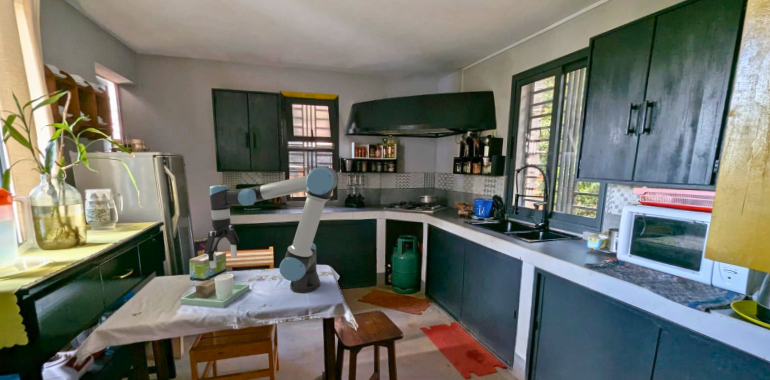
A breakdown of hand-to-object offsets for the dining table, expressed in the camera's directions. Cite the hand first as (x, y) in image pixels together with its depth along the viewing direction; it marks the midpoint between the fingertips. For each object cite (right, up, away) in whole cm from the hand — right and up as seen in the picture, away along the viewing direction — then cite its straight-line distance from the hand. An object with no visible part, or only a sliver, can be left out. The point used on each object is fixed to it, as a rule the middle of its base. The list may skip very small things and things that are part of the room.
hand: (224, 262), depth 133 cm
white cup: (0, -17, +1) cm, 17 cm away
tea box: (-20, -16, +21) cm, 33 cm away
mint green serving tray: (-5, -17, +2) cm, 18 cm away
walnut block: (-10, -17, +3) cm, 20 cm away
